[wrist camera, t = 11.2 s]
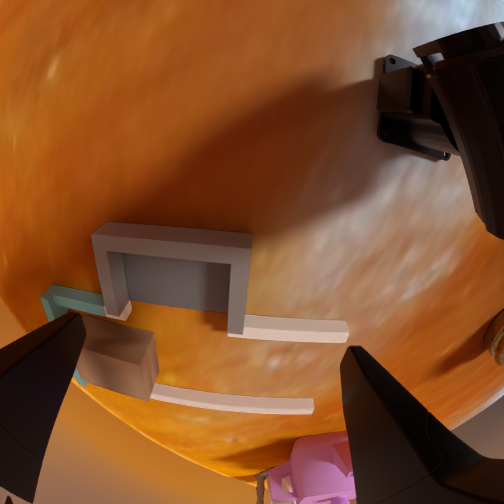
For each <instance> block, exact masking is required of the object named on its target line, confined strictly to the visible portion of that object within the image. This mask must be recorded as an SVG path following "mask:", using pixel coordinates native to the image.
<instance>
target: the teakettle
mask: <svg viewBox="0 0 504 504" xmlns="http://www.w3.org/2000/svg"><path fill="white" fill-rule="evenodd" d="M286 476H290V483H291V487H292V491H293V492H288V493H282V478H284V477H286ZM268 478H269V486H270V494H271V501H296V504H327V503H330V504H350V503H349V501H348V500H349V499H354V498H356V492H355V484H354V476H353V469H352V461H351V455H350V448H349V442H348V435H347V430H346V431H339V432H332V433H325V434H318V435H311V436H305V437H300V438H297V439H296V441H295V443H294V446H293V449H292V452H291V455H290V460H289V461H287V462H285V463H283V464H281V465H279V466H277V467H275V468H273V469H271V470H269V471H268Z"/></svg>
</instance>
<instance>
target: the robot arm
mask: <svg viewBox="0 0 504 504" xmlns="http://www.w3.org/2000/svg"><path fill="white" fill-rule="evenodd" d="M413 51H414V52H415V54H416V55H417V57H418V58H419V57H420V59H421V61H422V63H423V64H420V65H417V64H414V63H412V62H409V61H407V60H404V59H402V58H399V57H397V56H394V55H388V56H386V57H385V58H384V63H383V75H381V76H380V81H379V94H378V104H377V109H378V111H379V112H380V113H379V121H378V129H377V136H378V138H379V139H380V140H381V141H383V142H387V143H391V144H395V145H398V146H402V147H405V148H408V149H412V150H415V151H418V152H421V153H424V154H427V155H430V156H433V157H436V158H439V159H442V160H445V161H447V160H449V158H450V156H451V154H454V155H458V156H461V159H462V162H463V165H464V169H465V172H466V175H467V179H468V183H469V186H470V190H471V194H472V199H473V203H474V208H475V212H476V213H477V214H478V216H479V217H480V219H481V220H482V221H483V222H484V223H485V226H486V230H487V231H488V232H490V233H491V234H493V235H494V236H496V237H498V238H500V239H503V240H504V22H498V23H494V24H489V25H485V26H481V27H477V28H473V29H469V30H465V31H462V32H459V33H455V34H452V35H449V36H446V37H443V38H440V39H437V40H434V41H431V42H429V43H426V44H423V45H421V46H418V47H416V48H413ZM389 59H391V60H392V61H393V64H391V63H390V62H389ZM384 131H385V132H386V133H387V136H386V137H385V138H384V137H383V132H384ZM444 152H445V156H444ZM86 335H87V332H86V328H85V325H84V322H83V319H82V317H81V315H80V314H79V313H76V312H71V311H70V312H68V313H66V314H64V315H62V316H60V317H58V318H56V319H54V320H53V321H51V322H49V323H47V324H45V325H43V326H41V327H39V328H38V329H36V330H34V331H32V332H30V333H28V334H26V335H25V336H23V337H21V338H19V339H17V340H16V341H14V342H12V343H10V344H8V345H7V346H5V347H3V348H1V349H0V504H13V503H12V500H11V498H10V497H9V496H8V492H10V493H13V494H14V495H16V496H18V497H20V498H22V499H23V500H25V501H27V502H29V503H31V504H32V503H33V501H34V497H35V492H36V487H37V483H38V478H39V474H40V470H41V466H42V463H43V462H42V461H43V459H44V455H45V452H46V448H47V445H48V442H49V439H50V435H51V432H52V429H53V426H54V423H55V421H56V418H57V415H58V412H59V410H60V407H61V404H62V401H63V399H64V396H65V394H66V392H67V389H68V387H69V384H70V382H71V379H72V377H73V374H74V372H75V369H76V366H77V363H78V360H79V357H80V354H81V351H82V348H83V345H84V342H85V339H86ZM340 375H341V388H342V403H343V412H344V418H345V423H346V429H347V435H348V442H349V448H350V455H351V461H352V469H353V476H354V484H355V492H356V501H357V504H504V459H492V458H487V457H485V456H483V455H481V454H479V453H478V452H476V451H475V450H474V449H472V448H471V447H469V445H467V444H466V443H465V442H463V441H462V440H461V439H460V438H458V437H457V436H456V435H455V434H453V433H452V432H451V431H450V430H449V429H447V428H446V427H445V426H444V425H443V424H442V423H441V422H440V421H439V420H437V419H436V418H435V417H434V416H433V415H432V414H431V413H430V412H428V410H427V409H426V408H425V407H424V406H423V405H422V404H421V403H420V402H419V401H418V400H417V399H416V398H415V397H414V396H413V395H412V394H411V393H410V392H409V391H407V390H406V389H405V388H404V387H403V386H402V385H401V384H400V383H399V382H398V381H397V380H396V379H395V378H394V377H393V376H392V375H391V374H390V373H389V372H388V371H387V370H386V369H385V368H384V367H383V366H382V365H381V364H379V363H378V362H377V361H376V360H375V359H374V358H373V357H372V356H371V355H370V354H369V353H368V352H367V351H366V350H365V349H364V348H363V347H362V346H349V347H348V348H347V350H346V352H345V354H344V357H343V359H342V361H341V364H340Z"/></svg>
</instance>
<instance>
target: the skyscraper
mask: <svg viewBox="0 0 504 504" xmlns="http://www.w3.org/2000/svg"><path fill="white" fill-rule="evenodd" d="M271 469H273V468H270V469H268V470H266V471H264V472H261V473H259V474H257V475H255V477H256V478H257V487H256V490H257V504H264V503H263V502H264V501H263V497H264V490H265V486H264V481H265V478H267V485H268V492H269V498H270V504H296V501H271V494H270V486H269V478H268V471H269V470H271ZM288 492H293V491H292V487H291V483H290V476H286V477H284V478H282V493H288Z"/></svg>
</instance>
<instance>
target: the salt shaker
mask: <svg viewBox="0 0 504 504" xmlns="http://www.w3.org/2000/svg"><path fill="white" fill-rule="evenodd" d="M484 344H485V346H486V348H487V349H488V350H489V352H490V354H491V355H492V356H495V361H496V363H497V365H499V366H504V310H503V311H502V312H501V313H500V314H499V315H498V316H497V317H496V319H495V320H494V321H493V323H492V324H491V326H490V327H489V329H488V331H487V333H486V336H485V340H484Z"/></svg>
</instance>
